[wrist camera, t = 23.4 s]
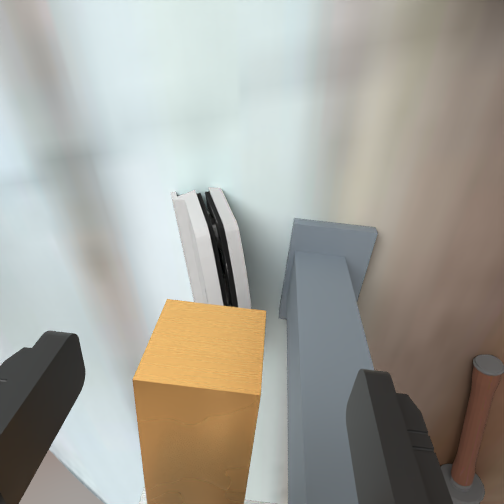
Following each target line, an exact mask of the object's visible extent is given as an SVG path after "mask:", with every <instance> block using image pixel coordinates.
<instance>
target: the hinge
mask: <svg viewBox="0 0 504 504" xmlns="http://www.w3.org/2000/svg"><path fill="white" fill-rule="evenodd" d="M205 195H206V201H207V207H208V211H207V210H206V207H205V204H204V202H203V199H202V196H201V193H198V194H196V191H195V190H193V191H191V192H188V193H185V194H182V195H180V196H177V194H176V192H172V193H171V196H172V201H173V206H174V210H175V215H176V220H177V224H178V229H179V234H180V238H181V243H182V247H183V252H184V257H185V261H186V266H187V271H188V275H189V280H190V284H191V289H192V294H193V298H194V302H196V303H204V304H213V305H221V306H230V307H238V308H246V309H252V308H251V300H250V292H249V285H248V278H247V272H246V265H245V259H244V254H243V248H242V243H241V237H240V232H239V228H238V224H237V221H236V219H235V217H234V215H233V213H232V211H231V208H230V206H229V204H228V202H227V200H226V198H225V196H224V193H223V191H222V189H221V188H214V187H209V192H205ZM218 249H220V250H221V255H222V261H223V268H224V273H223V274H222V269H221V263H220V258H219V253H218Z"/></svg>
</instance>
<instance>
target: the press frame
mask: <svg viewBox="0 0 504 504" xmlns="http://www.w3.org/2000/svg"><path fill="white" fill-rule="evenodd" d="M377 234H378V233H377V230H376V228H375V227H367V226H358V225H349V224H341V223H332V222H323V221H314V220H305V219H296V218H294V223H293V229H292V235H291V241H290V247H289V253H288V259H287V265H286V271H285V277H284V283H283V289H282V295H281V301H280V308H279V318H281V319H287V392H288V504H358V497H357V491H356V484H355V478H354V472H353V465H352V459H351V452H350V446H349V439H348V433H347V426H346V408H347V403H348V400H349V397H350V394H351V391H352V388H353V385H354V382H355V379H356V377H357V374H358V371H359V370H360V369H367V370H374V367H373V363H372V360H371V356H370V352H369V348H368V344H367V340H366V336H365V333H364V329H363V325H362V321H361V317H360V313H359V309H358V306H357V300H358V297H359V294H360V290H361V287H362V284H363V280H364V277H365V274H366V270H367V267H368V264H369V260H370V257H371V254H372V250H373V247H374V244H375V241H376V237H377Z"/></svg>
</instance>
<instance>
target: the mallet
mask: <svg viewBox="0 0 504 504" xmlns="http://www.w3.org/2000/svg"><path fill="white" fill-rule="evenodd" d="M473 364H474V367H473V372H472V388H471V392H470V397H469V401H468V406H467V410H466V415H465V419H464V424H463V428H462V433H461V437H460V442H459V446H458V451H457V455H456V458H455V460H454V462H453V464H443V465H442V466H441V470H442V473H443V476H444V479H445V482H446V484H447V487H448V490H449V493H450V496H451V499H452V501H453V504H480V501H482V500H483V497H484V495H485V490H484V485H483V483H482V481H481V479H480V478H479V476H478V475H477V474H476V473H475V464H476V460H477V456H478V452H479V448H480V444H481V441H482V437H483V433H484V429H485V425H486V422H487V418H488V414H489V410H490V406H491V402H492V399H493V395H494V393H495V391H496V389H497V387H498V385H499V382H500V378H501V375H502V373H504V365H503V363H502V362H501V360H499V359H498V358H497V357H494V356H492V355H478V356H477V357H475V358H474V359H473Z"/></svg>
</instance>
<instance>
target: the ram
mask: <svg viewBox="0 0 504 504" xmlns="http://www.w3.org/2000/svg"><path fill="white" fill-rule="evenodd" d="M265 321H266V311H263V310H255V309H246V308H238V307H230V306H221V305H213V304H204V303H196V302H187V301H179V300H170V299H167V301H166V303H165V305H164V308H163V310H162V312H161V315H160V317H159V319H158V322H157V324H156V326H155V329H154V331H153V333H152V336H151V338H150V340H149V343H148V345H147V347H146V350H145V352H144V354H143V357H142V359H141V361H140V364H139V366H138V368H137V371H136V373H135V375H134V378H133V387H134V396H135V404H136V413H137V422H138V430H139V439H140V447H141V456H142V464H143V473H144V481H145V487H144V489H143V492H142V495H141V498H140V502H139V504H276V503H268V502H260V501H252V500H245V493H246V487H247V480H248V474H249V467H250V461H251V454H252V448H253V442H254V435H255V429H256V422H257V416H258V409H259V403H260V396H261V383H262V367H263V352H264V337H265Z"/></svg>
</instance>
